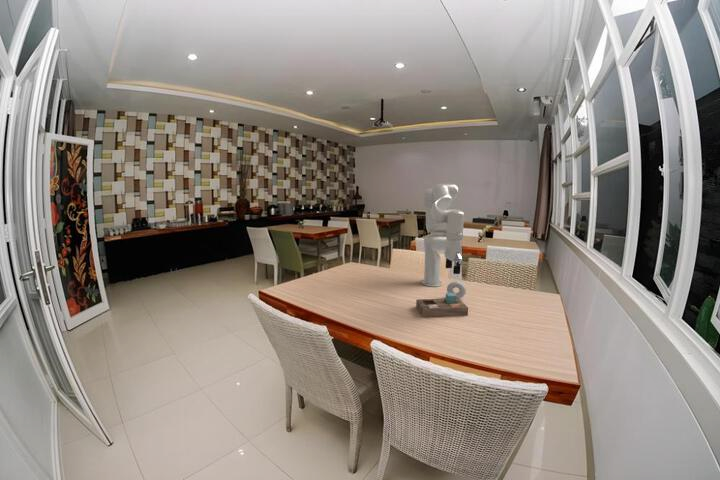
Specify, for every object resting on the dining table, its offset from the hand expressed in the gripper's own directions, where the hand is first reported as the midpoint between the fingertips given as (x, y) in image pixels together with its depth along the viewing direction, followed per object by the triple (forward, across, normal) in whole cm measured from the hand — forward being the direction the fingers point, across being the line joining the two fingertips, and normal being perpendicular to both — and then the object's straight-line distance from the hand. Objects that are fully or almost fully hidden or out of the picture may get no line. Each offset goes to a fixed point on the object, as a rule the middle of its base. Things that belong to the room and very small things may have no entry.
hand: (452, 270), depth 141 cm
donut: (+20, -13, +8) cm, 26 cm away
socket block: (+20, +2, -6) cm, 21 cm away
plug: (+20, 0, 0) cm, 20 cm away
